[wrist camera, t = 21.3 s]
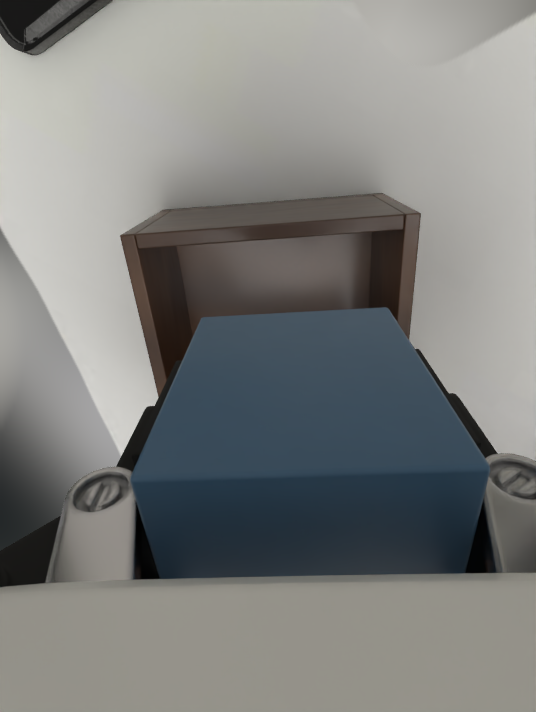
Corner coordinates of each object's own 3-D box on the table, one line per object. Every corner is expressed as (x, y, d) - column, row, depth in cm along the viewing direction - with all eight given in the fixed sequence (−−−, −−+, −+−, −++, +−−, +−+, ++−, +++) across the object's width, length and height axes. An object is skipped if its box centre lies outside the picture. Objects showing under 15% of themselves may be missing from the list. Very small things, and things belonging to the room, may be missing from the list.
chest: (162, 210, 29) (119, 235, 21) (382, 193, 28) (421, 212, 21) (194, 383, 36) (171, 450, 28) (373, 374, 35) (400, 440, 27)
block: (388, 305, 11) (494, 467, 5) (378, 452, 13) (444, 667, 8) (200, 316, 11) (127, 478, 6) (222, 458, 13) (185, 668, 8)
